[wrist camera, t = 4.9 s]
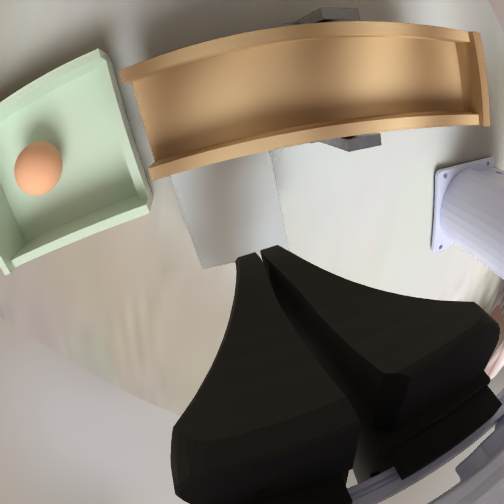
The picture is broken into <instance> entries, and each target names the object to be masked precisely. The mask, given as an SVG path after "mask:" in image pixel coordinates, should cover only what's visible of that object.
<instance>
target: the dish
mask: <svg viewBox="0 0 504 504" xmlns="http://www.w3.org/2000/svg"><path fill="white" fill-rule="evenodd" d="M39 141H43V142H48V143H50V144H52V145H53V146H55V147H56V148H57V150H58V151H59V153H60V155H61V158H62V163H63V169H62V174H61V177H60V179H59V181H58V183H57V184H56V185H55V187H54V188H53V189H52V190H50V191H49V192H47V193H45V194H42V195H30V194H27V193H25V192H24V191H23V190H21V188H20V187H19V186H18V184H17V182H16V180H15V175H14V167H15V162H16V160H17V157H18V155H19V154H20V152H21V151H22V150H23V149H24V148H25V147H26V146H28V145H30V144H31V143H34V142H39ZM152 201H153V195H152V192H151V189H150V186H149V183H148V181H147V178H146V175H145V172H144V169H143V166H142V163H141V160H140V157H139V154H138V151H137V148H136V145H135V142H134V138H133V135H132V132H131V129H130V126H129V122H128V119H127V116H126V112H125V109H124V105H123V102H122V98H121V95H120V91H119V88H118V84H117V80H116V77H115V73H114V69H113V65H112V61H111V57H110V56H109V55H107V54H106V53H104V52H103V51H102V50H100V49H99V48H98V49H96V50H93V51H91V52H89V53H87V54H84V55H82V56H80V57H78V58H76V59H74V60H72V61H70V62H68V63H66V64H64V65H62V66H60V67H58V68H56V69H54V70H52V71H50V72H48V73H47V74H45V75H43V76H41V77H39V78H38V79H36V80H34V81H33V82H31V83H29V84H28V85H26V86H24V87H23V88H21V89H20V90H18V91H16V92H15V93H13V94H12V95H10V96H9V97H7V98H6V99H4V100H3V101H1V102H0V267H1V269H2V271H3V273H4V274H5V275H8V274H10V273H11V272H12V270H13V269H14V268H15V267H16V266H19V265H21V264H23V263H25V262H28V261H30V260H32V259H34V258H37V257H39V256H41V255H43V254H46V253H48V252H50V251H53V250H55V249H58V248H60V247H62V246H65V245H67V244H70V243H72V242H75V241H77V240H80V239H82V238H85V237H87V236H90V235H92V234H95V233H97V232H100V231H102V230H105V229H108V228H110V227H113V226H116V225H118V224H121V223H124V222H126V221H129V220H132V219H135V218H138V217H140V216H143V215H146V214H149V213H150V210H151V205H152Z"/></svg>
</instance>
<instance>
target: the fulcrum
mask: <svg viewBox="0 0 504 504" xmlns="http://www.w3.org/2000/svg"><path fill="white" fill-rule="evenodd" d="M356 20H360V18H359V14H358V10H357V9H353V8H319V9H317V10H316V11H314V12H312V13H310V14H308V15H306V16H305V17H303V18H301V19H299V20H298V21H296V22H294V23H286V24H284V25H282V26H281V27H283V26H291V25H300V24H311V23H324V22H347V21H356ZM316 142H322V143H325V144H328V145H331V146H334V147H337V148H339V149H342V150H345V151H348V152H350V151H355V150H359V149H364V148H369V147H374V146H379V145H381V136H380V133H369V134H362V135H355V136H348V137H341V138H334V139H328V140H322V141H316ZM311 143H314V142H311Z"/></svg>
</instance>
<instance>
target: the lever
mask: <svg viewBox="0 0 504 504" xmlns="http://www.w3.org/2000/svg"><path fill="white" fill-rule="evenodd" d="M119 75H120V79H121V82H122V83H132V86H133V89H134V93H135V96H136V100H137V103H138V107H139V110H140V114H141V117H142V121H143V124H144V127H145V130H146V134H147V137H148V140H149V143H150V147H151V150H152V153H153V156H154V159H155V162H154V163H153V164H152V165H151V166H150V167H149V168H148V171H149V174H150V177H151V180H152V181H153V180H156V179H159V178H163V177H166V176H170V177H171V180H172V183H173V186H174V189H175V192H176V195H177V198H178V201H179V204H180V207H181V210H182V213H183V216H184V219H185V222H186V225H187V227H188V230H189V233H190V236H191V239H192V242H193V244H194V247H195V250H196V253H197V255H198V258H199V261H200V264H201V266H202V269H205V268H210V267H215V266H219V265H224V264H229V263H233V262H235V261H236V259H237V258H238V257H241V256H244V255H247V254H250V253H253V252H256V253H257V254H258V256H259V257H261V253H260V250H263V249H266V248H269V247H272V246H275V245H279V246H281V247H283V248H284V249H286V250H289V246H288V241H287V236H286V231H285V225H284V220H283V215H282V210H281V205H280V200H279V195H278V190H277V185H276V180H275V176H274V171H273V166H272V161H271V157H270V152H269V150H274V149H279V148H284V147H289V146H294V145H300V144H305V143H311V142H316V141H322V140H328V139H334V138H341V137H348V136H355V135H362V134H369V133H377V132H386V131H395V130H405V129H416V128H428V127H443V126H463V125H481V126H490V108H489V94H488V83H487V74H486V67H485V60H484V53H483V48H482V42H481V37H480V33H477V32H466V31H461V30H456V29H450V28H444V27H437V26H429V25H420V24H410V23H397V22H374V21H347V22H324V23H311V24H300V25H291V26H283V27H276V28H269V29H263V30H257V31H251V32H246V33H241V34H236V35H231V36H227V37H222V38H218V39H214V40H210V41H206V42H202V43H199V44H195V45H191V46H188V47H185V48H181V49H178V50H175V51H172V52H169V53H166V54H163V55H160V56H157V57H154V58H151V59H148V60H146V61H143V62H140V63H138V64H135V65H133V66H130V67H128V68H125V69H123V70H120V71H119Z"/></svg>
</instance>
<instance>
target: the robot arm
mask: <svg viewBox="0 0 504 504" xmlns="http://www.w3.org/2000/svg"><path fill="white" fill-rule="evenodd" d="M454 244H456V245H457V246H459V247H460V248H462V249H463V250H465V251H466V252H467V253H469V254H470V255H472V256H473V257H474V258H476V259H477V260H479V261H480V262H481V263H483V264H484V265H485V266H487V267H488V268H489V269H491V270H492V271H493V272H495V273H496V274H497V275H499V276H500V277H501V278H502V279H504V171H502V170H499V169H497V168H495V160H494V158H492V157H488V158H484V159H480V160H476V161H472V162H468V163H464V164H460V165H456V166H452V167H448V168H444V169H440V170H438V171H437V172H436V175H435V206H434V223H433V236H432V247H431V250H432V251H433V252H434V253H437V252H439V251H441V250H443V249H446V248H448V247H450V246H452V245H454ZM260 253H261V257H262V260H261V258H260V257H259V256H258V254H257V253H256V252H253V253H250V254H247V255H244V256H241V257H238V258H237V259H236V261H235V263H236V270H237V275H236V287H235V295H234V301H233V305H232V310H231V315H230V319H229V322H228V326H227V329H226V332H225V335H224V338H223V340H222V343H221V345H220V348H219V350H218V353H217V355H216V358H215V360H214V362H213V364H212V366H211V368H210V370H209V372H208V374H207V375H206V377H205V379H204V381H203V383H202V385H201V386H200V388H199V390H198V392H197V393H196V395H195V397H194V398H193V400H192V401H191V403H190V404H189V406H188V407H187V408H186V410H185V411H184V413H183V414H182V416H181V417H180V418H179V420H178V421H177V423H176V424H175V425H174V427H173V432H172V440H171V470H172V476H173V482H174V489H175V494H176V495H177V496H178V497H180V498H181V499H182V500H184V501H186V502H188V503H190V504H377V503H379V502H381V501H383V500H385V499H387V498H389V497H391V496H393V495H395V494H397V493H399V492H400V491H402V490H404V489H406V488H408V487H409V486H411V485H413V484H414V483H416V482H418V481H419V480H421V479H423V478H424V477H426V476H428V475H429V474H431V473H432V472H434V471H435V470H437V469H438V468H440V467H441V466H443V465H444V464H446V463H447V462H449V461H450V460H452V459H453V458H454V457H455V456H457V455H458V454H460V453H461V452H462V451H464V450H465V449H466V448H468V447H469V446H470V445H472V444H473V443H474V442H475V441H477V440H478V439H479V438H480V437H481V436H483V435H484V434H485V433H486V432H487V431H488V430H489V429H491V428H492V427H493V426H494V425H495V424H496V423H497V424H496V425H495V431H494V432H493V433H491V435H489V436H488V437H487V438H486V439H485V440H484V441H483V442H482V443H481V444H480V445H479V446H478V447H477V448H476V449H475V450H474V452H473V453H471V454H470V455H469V456H468V457H467V458H466V459H465V460H464V461H462V462H461V463H460V464H459V465H458V466H457V467H456V469H455V470H456V472H457V474H458V475H459V477H460V479H461V480H460V482H459V483H458V484H456V485H455V486H454V487H452V488H451V489H449V490H448V491H446V492H445V493H443V494H442V495H440V496H439V497H437V498H436V499H434V500H433V501H431V502H429V503H428V504H504V389H502V390H501V391H500V392H499V393H498V394H497V395H496V396H495V394H493V392H492V391H491V389H490V388H489V387H488V386H487V385H488V384H489V383H490V378H489V376H488V375H487V374H486V373H485V372H484V369H485V367H486V365H487V363H488V361H489V359H490V357H491V355H492V353H493V351H494V349H495V347H496V345H497V342H498V340H499V334H500V328H499V325H498V323H497V322H496V321H495V320H494V319H493V318H492V317H490V316H489V315H488V314H487V313H486V312H485V311H484V310H483V309H482V308H481V307H480V306H479V305H477V304H476V303H475V302H461V301H440V300H431V299H423V298H416V297H410V296H404V295H399V294H395V293H390V292H386V291H382V290H378V289H374V288H371V287H368V286H365V285H362V284H358V283H355V282H352V281H350V280H347V279H344V278H342V277H339V276H337V275H335V274H332V273H330V272H328V271H326V270H323V269H321V268H319V267H317V266H315V265H313V264H311V263H309V262H307V261H306V260H304V259H302V258H300V257H298V256H297V255H295V254H293V253H291V252H290V251H288V250H286V249H284V248H283V247H281V246H279V245H275V246H272V247H269V248H266V249H263V250H260ZM262 261H263V262H262ZM350 469H353V471H354V474H355V477H356V479H357V482H358V484H357V485H355V486H352V487H350V488H348V489H347V488H346V482H347V477H348V472H349V470H350Z"/></svg>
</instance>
